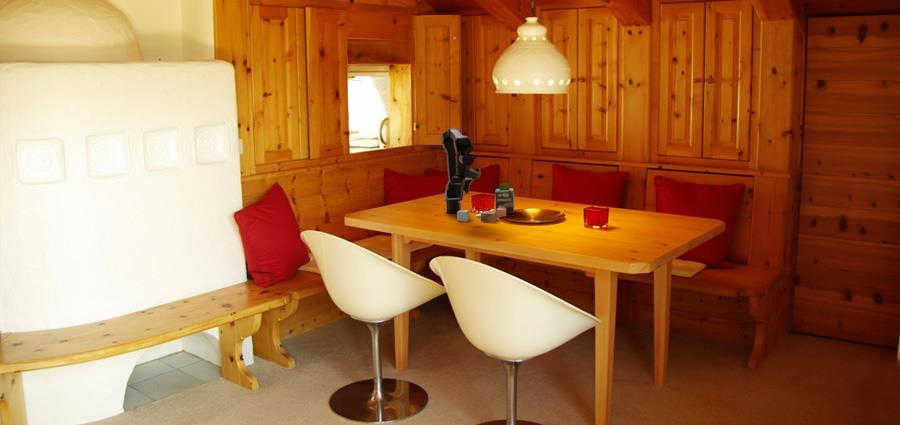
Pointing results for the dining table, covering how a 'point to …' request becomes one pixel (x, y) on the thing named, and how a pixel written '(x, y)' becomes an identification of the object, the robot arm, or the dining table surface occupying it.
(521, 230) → the dining table surface
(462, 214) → the blue cube
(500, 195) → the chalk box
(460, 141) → the robot arm
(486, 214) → the walnut block
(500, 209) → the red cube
